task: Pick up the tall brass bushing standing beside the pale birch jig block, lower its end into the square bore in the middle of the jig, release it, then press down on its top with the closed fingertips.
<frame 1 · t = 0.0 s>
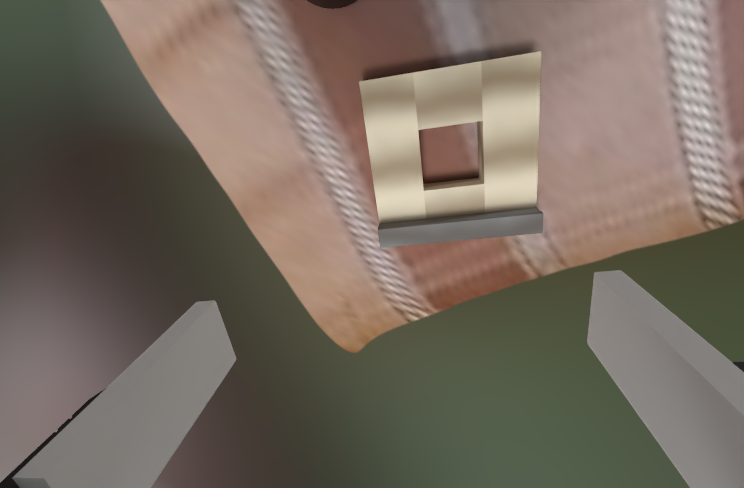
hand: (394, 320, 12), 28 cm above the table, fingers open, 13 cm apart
jig: (448, 152, 37), on the table
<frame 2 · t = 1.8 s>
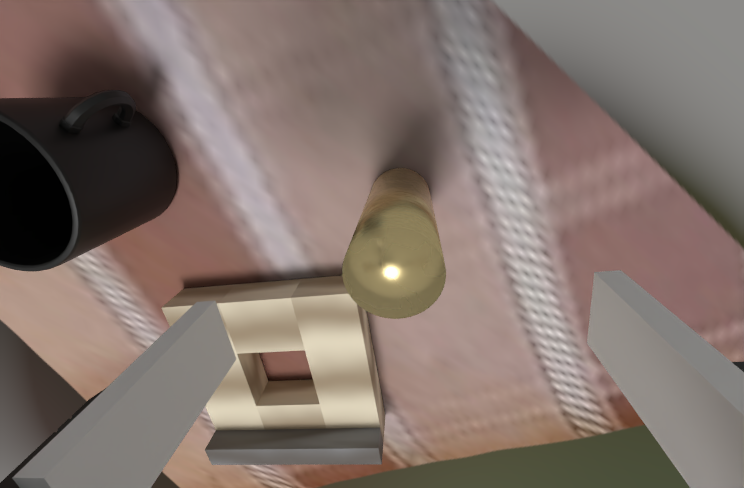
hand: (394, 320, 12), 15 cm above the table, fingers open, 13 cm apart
mug: (130, 151, 27), on the table
jig: (290, 355, 33), on the table
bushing: (400, 197, 26), on the table
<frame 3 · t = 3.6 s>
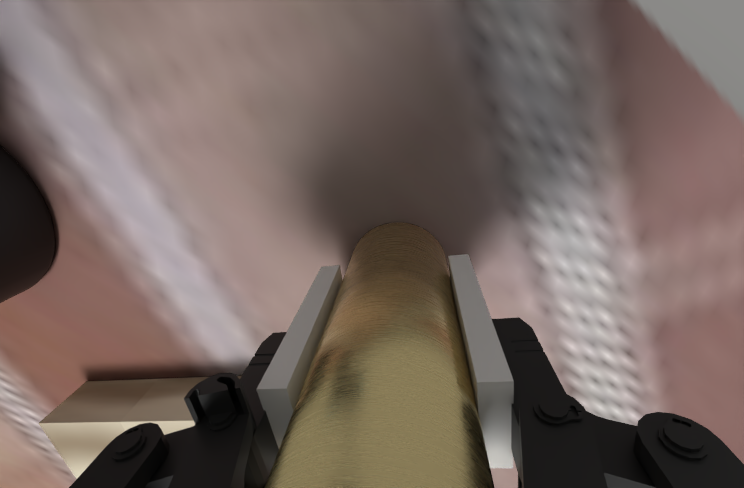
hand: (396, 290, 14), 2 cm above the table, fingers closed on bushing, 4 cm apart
jig: (243, 470, 23), on the table
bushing: (398, 267, 16), on the table, touching gripper
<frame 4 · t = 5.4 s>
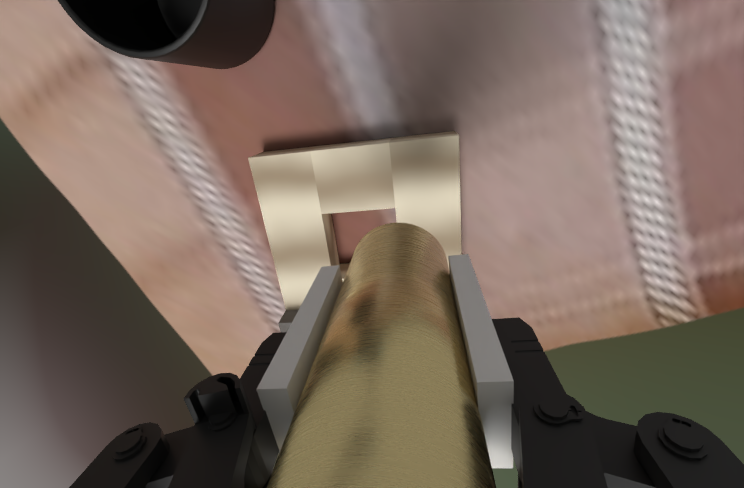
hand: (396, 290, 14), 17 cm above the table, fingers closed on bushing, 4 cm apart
jig: (366, 232, 32), on the table
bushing: (399, 267, 16), point 15 cm above the table, touching gripper
when the fingers open (4 cm above the table, at t = 7.4 s): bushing drops 2 cm, resting in jig.
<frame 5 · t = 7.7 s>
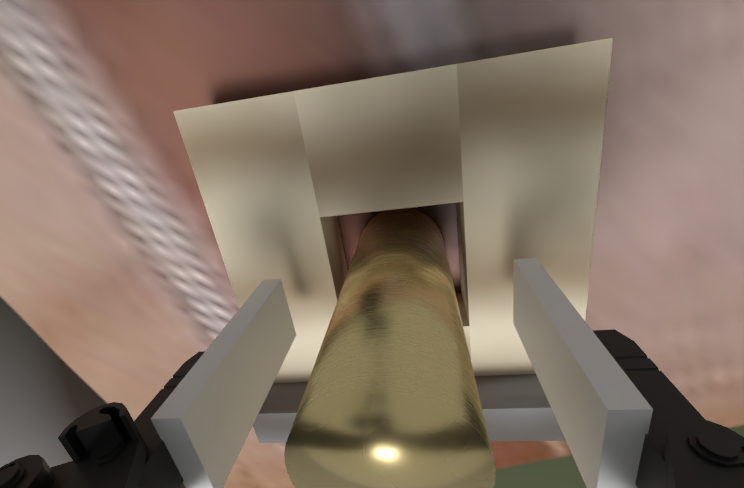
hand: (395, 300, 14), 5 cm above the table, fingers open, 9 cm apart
jig: (399, 247, 18), on the table
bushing: (401, 247, 18), resting in jig
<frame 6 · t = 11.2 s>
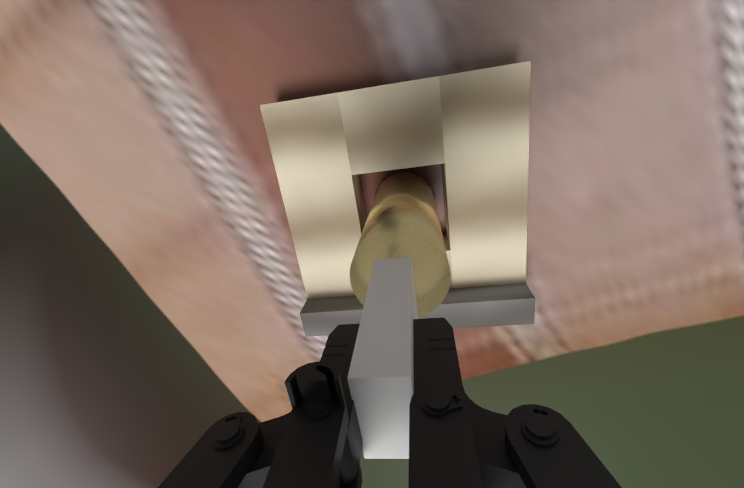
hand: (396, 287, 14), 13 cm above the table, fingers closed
jig: (403, 201, 26), on the table
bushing: (404, 201, 26), resting in jig
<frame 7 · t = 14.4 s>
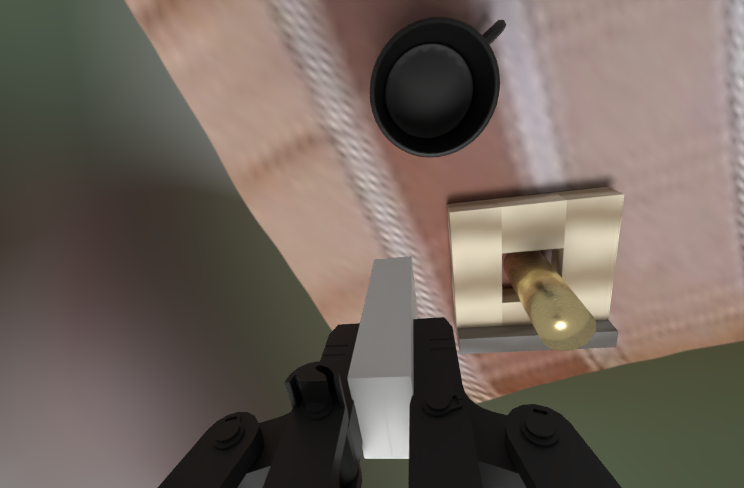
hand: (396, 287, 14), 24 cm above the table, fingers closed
mug: (438, 83, 33), on the table
jig: (523, 264, 39), on the table
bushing: (523, 264, 39), resting in jig
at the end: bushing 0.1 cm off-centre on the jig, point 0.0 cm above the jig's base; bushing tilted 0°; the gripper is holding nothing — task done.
